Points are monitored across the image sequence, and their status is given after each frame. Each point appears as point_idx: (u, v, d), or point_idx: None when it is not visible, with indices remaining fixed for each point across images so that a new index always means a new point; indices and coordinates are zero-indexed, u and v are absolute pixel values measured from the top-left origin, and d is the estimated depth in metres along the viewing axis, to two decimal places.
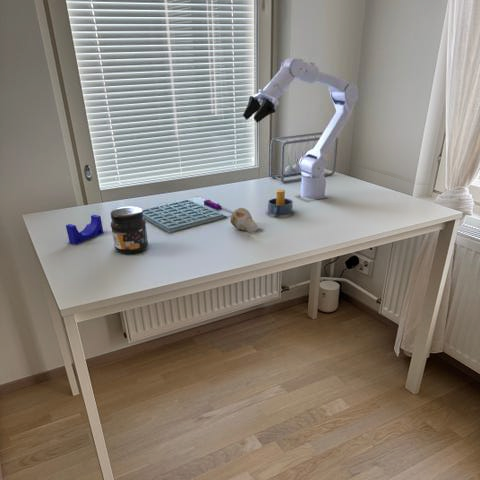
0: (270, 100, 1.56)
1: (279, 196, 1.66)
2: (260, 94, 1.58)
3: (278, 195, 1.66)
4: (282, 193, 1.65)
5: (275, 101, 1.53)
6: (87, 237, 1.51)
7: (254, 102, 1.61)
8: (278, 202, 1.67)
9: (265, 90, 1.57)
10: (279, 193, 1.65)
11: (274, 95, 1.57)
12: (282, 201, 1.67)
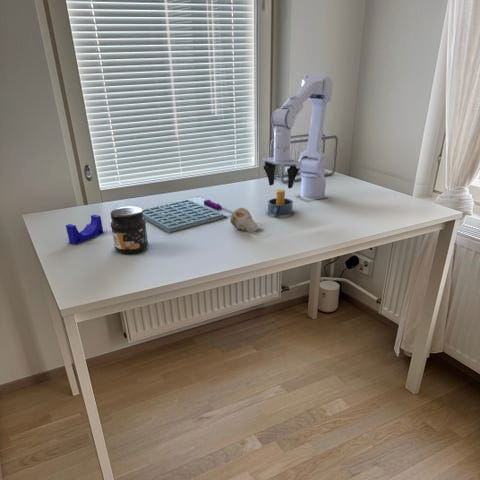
0: None
1: (279, 196, 1.66)
2: None
3: (278, 195, 1.66)
4: (282, 193, 1.65)
5: (299, 165, 1.57)
6: (87, 237, 1.51)
7: (271, 168, 1.63)
8: (278, 202, 1.67)
9: (280, 159, 1.58)
10: (279, 193, 1.65)
11: (289, 156, 1.58)
12: (282, 201, 1.67)
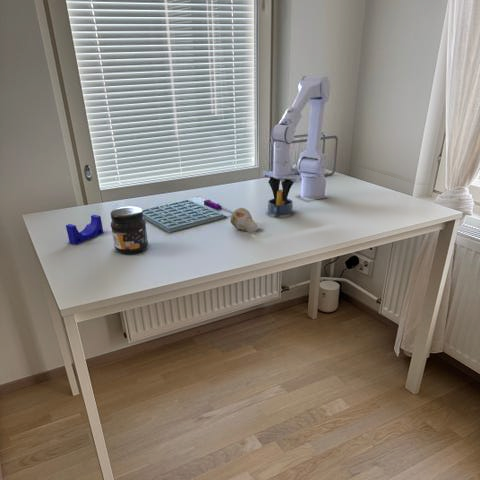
0: None
1: (279, 196, 1.66)
2: None
3: (278, 195, 1.66)
4: (282, 193, 1.65)
5: (298, 179, 1.60)
6: (87, 237, 1.51)
7: (275, 183, 1.65)
8: (278, 202, 1.67)
9: (279, 173, 1.60)
10: (279, 193, 1.65)
11: (288, 170, 1.61)
12: (282, 201, 1.67)
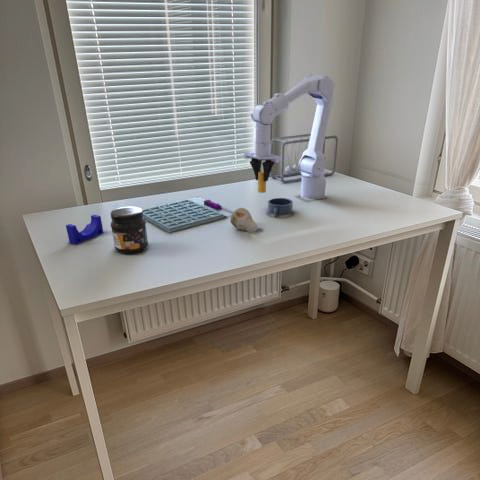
0: None
1: (261, 177, 1.70)
2: None
3: (259, 176, 1.70)
4: (263, 174, 1.69)
5: (279, 160, 1.64)
6: (87, 237, 1.51)
7: (257, 163, 1.69)
8: (259, 182, 1.71)
9: (260, 154, 1.64)
10: (260, 174, 1.69)
11: (269, 151, 1.65)
12: (263, 182, 1.71)
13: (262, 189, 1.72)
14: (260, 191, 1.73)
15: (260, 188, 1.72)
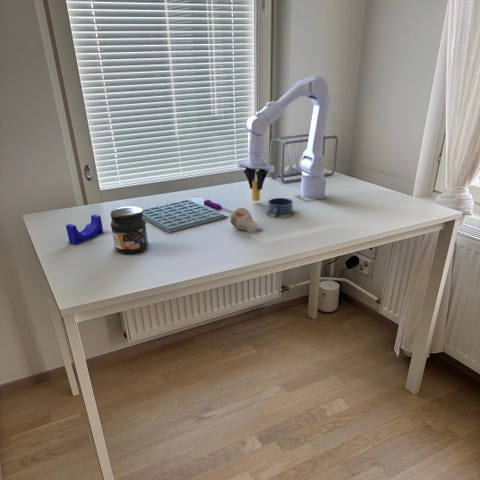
0: None
1: (255, 186, 1.74)
2: None
3: (253, 184, 1.74)
4: (257, 182, 1.73)
5: (272, 169, 1.68)
6: (87, 237, 1.51)
7: (251, 172, 1.73)
8: (253, 191, 1.75)
9: (254, 163, 1.68)
10: (254, 182, 1.73)
11: (262, 160, 1.69)
12: (257, 190, 1.75)
13: (256, 198, 1.76)
14: (254, 199, 1.77)
15: (254, 196, 1.76)
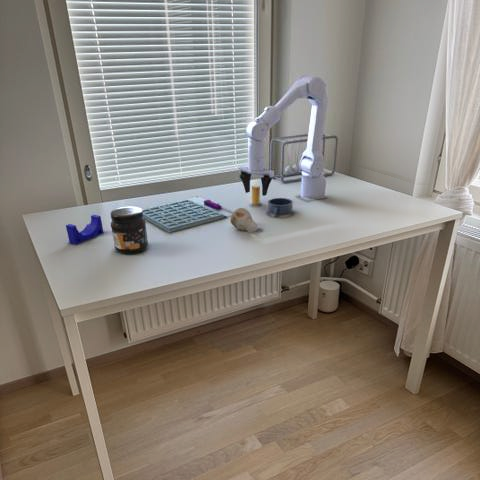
0: None
1: (255, 191, 1.75)
2: None
3: (253, 190, 1.75)
4: (257, 188, 1.75)
5: (272, 174, 1.69)
6: (87, 237, 1.51)
7: (246, 177, 1.75)
8: (253, 197, 1.76)
9: (254, 169, 1.69)
10: (254, 188, 1.75)
11: (262, 165, 1.70)
12: (257, 196, 1.76)
13: (256, 203, 1.78)
14: None
15: (254, 202, 1.77)
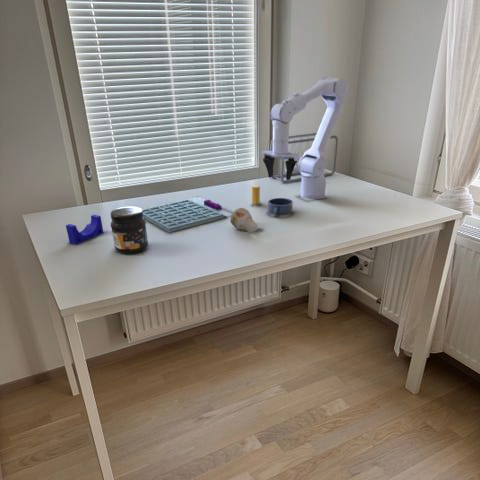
0: None
1: (255, 191, 1.75)
2: None
3: (253, 190, 1.75)
4: (257, 188, 1.75)
5: (297, 158, 1.66)
6: (87, 237, 1.51)
7: (270, 161, 1.72)
8: (253, 197, 1.76)
9: (278, 152, 1.66)
10: (254, 188, 1.75)
11: (287, 149, 1.67)
12: (257, 196, 1.76)
13: (256, 203, 1.78)
14: None
15: (254, 202, 1.77)
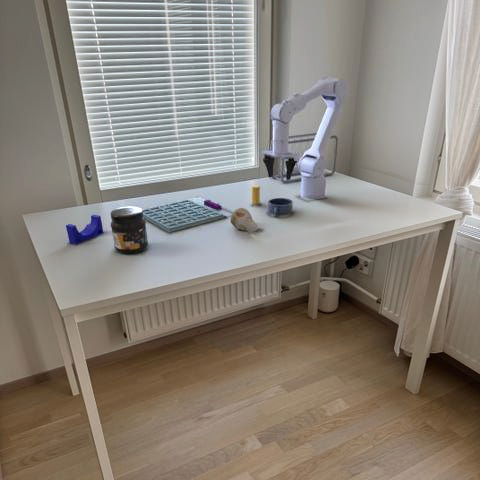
0: None
1: (255, 191, 1.75)
2: None
3: (253, 190, 1.75)
4: (257, 188, 1.75)
5: (297, 158, 1.66)
6: (87, 237, 1.51)
7: (270, 161, 1.72)
8: (253, 197, 1.76)
9: (278, 152, 1.66)
10: (254, 188, 1.75)
11: (287, 149, 1.67)
12: (257, 196, 1.76)
13: (256, 203, 1.78)
14: None
15: (254, 202, 1.77)
